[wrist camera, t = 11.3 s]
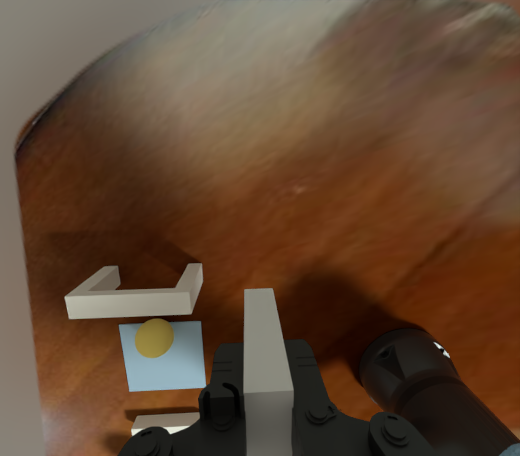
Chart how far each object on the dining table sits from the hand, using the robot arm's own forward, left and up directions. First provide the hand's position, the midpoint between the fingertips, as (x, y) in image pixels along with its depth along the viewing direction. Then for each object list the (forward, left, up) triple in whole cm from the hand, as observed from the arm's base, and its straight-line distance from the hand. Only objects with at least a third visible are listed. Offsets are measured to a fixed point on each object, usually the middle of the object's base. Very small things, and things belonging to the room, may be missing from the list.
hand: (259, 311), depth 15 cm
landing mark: (-24, +15, -26) cm, 39 cm away
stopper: (-37, +15, -26) cm, 48 cm away
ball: (-18, +15, -24) cm, 33 cm away
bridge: (-9, +15, -26) cm, 32 cm away
